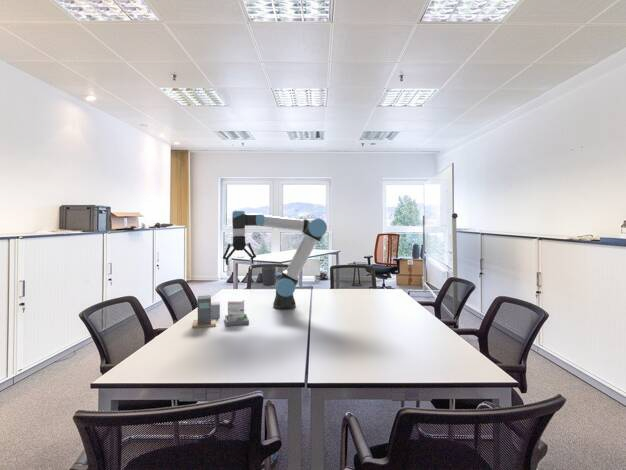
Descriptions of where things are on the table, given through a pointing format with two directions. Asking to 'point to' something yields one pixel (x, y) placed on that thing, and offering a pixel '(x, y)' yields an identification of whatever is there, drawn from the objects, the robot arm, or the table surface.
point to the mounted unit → (204, 313)
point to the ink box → (236, 310)
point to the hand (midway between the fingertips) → (239, 269)
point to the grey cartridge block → (215, 310)
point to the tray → (234, 323)
